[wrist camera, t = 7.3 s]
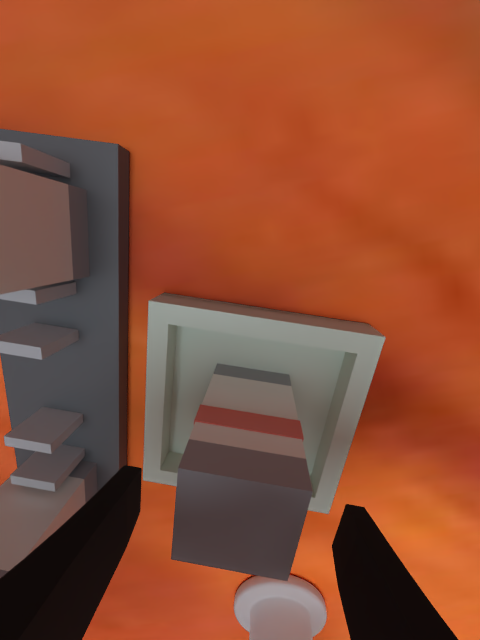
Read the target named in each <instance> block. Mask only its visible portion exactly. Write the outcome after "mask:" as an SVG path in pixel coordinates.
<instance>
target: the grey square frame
mask: <svg viewBox="0 0 480 640" xmlns="http://www.w3.org/2000/svg"><path fill="white" fill-rule="evenodd" d="M385 338H386V337H385V336H384V335H382V334H381V333H380V332H378V331H377V330H376V329H375V328H373V327H372V326H371V325H369V324H366V323H360V322H353V321H347V320H340V319H333V318H327V317H320V316H314V315H307V314H301V313H294V312H287V311H281V310H274V309H268V308H261V307H255V306H248V305H241V304H235V303H228V302H222V301H215V300H208V299H202V298H195V297H189V296H182V295H176V294H169V293H163V294H161V295H159V296H157V297H155V298H153V299H151V300H149V306H148V338H147V369H146V400H145V431H144V463H143V480H145V481H150V482H156V483H161V484H167V485H172V486H177V475H178V467H179V464H180V462H181V459H182V456H183V454H184V451H185V448H186V445H187V443H188V440H189V437H190V435H191V432H192V429H193V427H194V419H195V417H196V414H197V412H198V409H199V406H200V404H201V405H202V403H203V400H204V397H205V395H206V392H207V389H208V387H209V384H210V381H211V378H212V376H213V373H214V370H215V368H216V365H217V363H218V364H225V365H231V366H237V367H244V368H250V369H257V370H263V371H269V372H276V373H282V374H289V376H290V381H291V386H292V391H293V396H294V401H295V406H296V411H297V416H298V420H299V421H300V423H301V427H302V432H303V437H304V440H303V446H304V451H305V456H306V461H307V466H308V471H309V476H310V481H311V486H312V491H313V492H312V496H311V500H310V503H309V507H308V510H310V511H315V512H321V513H326V514H329V511H330V508H331V505H332V502H333V499H334V496H335V493H336V489H337V486H338V483H339V480H340V477H341V474H342V471H343V468H344V465H345V462H346V458H347V455H348V452H349V449H350V446H351V443H352V440H353V437H354V434H355V431H356V427H357V424H358V421H359V418H360V415H361V412H362V409H363V406H364V403H365V400H366V396H367V393H368V390H369V387H370V384H371V381H372V378H373V375H374V372H375V369H376V365H377V362H378V359H379V356H380V353H381V350H382V347H383V344H384V341H385Z"/></svg>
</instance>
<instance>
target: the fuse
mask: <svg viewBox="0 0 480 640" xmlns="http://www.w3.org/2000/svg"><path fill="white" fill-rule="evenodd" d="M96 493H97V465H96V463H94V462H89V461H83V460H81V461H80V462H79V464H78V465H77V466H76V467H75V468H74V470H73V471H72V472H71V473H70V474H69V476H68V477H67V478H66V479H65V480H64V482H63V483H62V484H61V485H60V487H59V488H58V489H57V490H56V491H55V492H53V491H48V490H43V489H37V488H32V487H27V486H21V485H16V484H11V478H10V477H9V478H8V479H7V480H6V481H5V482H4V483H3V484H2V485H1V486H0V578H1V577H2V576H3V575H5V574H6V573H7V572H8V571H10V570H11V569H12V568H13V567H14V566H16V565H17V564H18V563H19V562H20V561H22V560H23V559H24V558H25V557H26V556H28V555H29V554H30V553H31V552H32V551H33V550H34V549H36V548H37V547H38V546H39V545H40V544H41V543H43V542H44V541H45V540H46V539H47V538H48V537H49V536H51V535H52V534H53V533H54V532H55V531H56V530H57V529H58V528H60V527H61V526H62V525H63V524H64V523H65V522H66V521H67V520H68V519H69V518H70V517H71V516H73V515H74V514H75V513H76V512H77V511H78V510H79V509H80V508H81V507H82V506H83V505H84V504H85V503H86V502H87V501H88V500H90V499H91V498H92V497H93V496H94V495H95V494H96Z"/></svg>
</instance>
